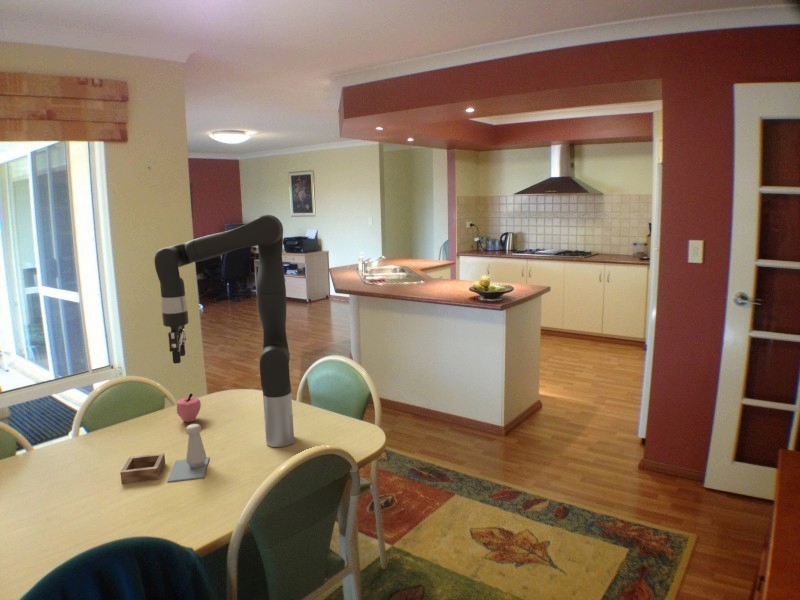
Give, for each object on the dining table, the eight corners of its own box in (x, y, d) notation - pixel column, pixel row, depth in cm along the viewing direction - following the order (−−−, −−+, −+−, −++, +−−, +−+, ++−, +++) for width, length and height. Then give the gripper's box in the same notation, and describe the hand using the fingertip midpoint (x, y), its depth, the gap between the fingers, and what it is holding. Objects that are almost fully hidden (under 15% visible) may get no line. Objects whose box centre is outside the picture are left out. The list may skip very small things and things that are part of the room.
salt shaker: (200, 470, 164) (196, 430, 161) (183, 469, 165) (178, 429, 162) (210, 461, 169) (206, 422, 167) (193, 460, 170) (189, 421, 168)
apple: (178, 417, 206) (175, 392, 204) (202, 414, 208) (200, 389, 207) (176, 427, 197) (173, 401, 195) (201, 424, 199) (199, 398, 198)
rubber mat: (209, 458, 173) (209, 456, 173) (203, 478, 160) (203, 476, 160) (175, 461, 171) (175, 460, 171) (167, 482, 158) (167, 481, 158)
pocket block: (165, 463, 170) (164, 453, 169) (158, 479, 160) (157, 468, 159) (130, 467, 168) (129, 456, 167) (121, 483, 158) (120, 472, 157)
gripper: (183, 313, 167) (188, 364, 170) (190, 305, 180) (195, 352, 183) (157, 315, 165) (162, 366, 168) (166, 306, 179) (171, 354, 182)
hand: (179, 359), depth 176 cm, fingers open, 8 cm apart
